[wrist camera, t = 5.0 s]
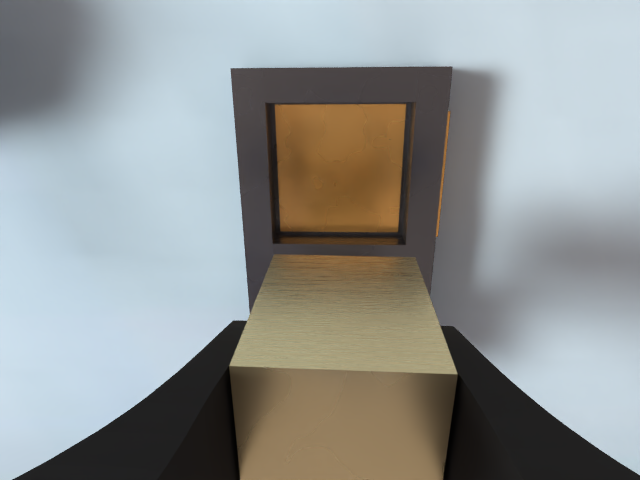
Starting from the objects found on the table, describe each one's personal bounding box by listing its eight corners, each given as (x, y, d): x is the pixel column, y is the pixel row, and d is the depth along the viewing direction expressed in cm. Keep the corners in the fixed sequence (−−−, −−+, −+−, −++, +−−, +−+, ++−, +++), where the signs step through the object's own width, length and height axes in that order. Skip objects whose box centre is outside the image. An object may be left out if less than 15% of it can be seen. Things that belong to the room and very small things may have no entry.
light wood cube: (405, 373, 14) (435, 532, 9) (279, 369, 14) (244, 521, 9) (415, 257, 12) (457, 374, 7) (273, 254, 12) (228, 365, 8)
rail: (406, 469, 25) (411, 501, 23) (269, 464, 26) (264, 495, 24) (443, 67, 17) (455, 66, 15) (242, 68, 18) (230, 68, 16)
